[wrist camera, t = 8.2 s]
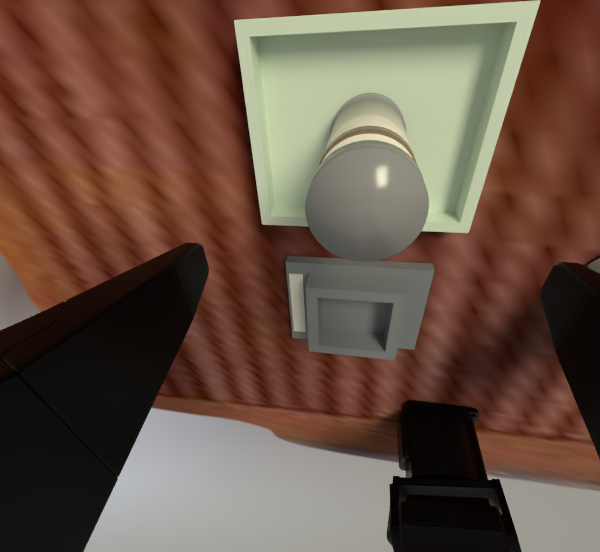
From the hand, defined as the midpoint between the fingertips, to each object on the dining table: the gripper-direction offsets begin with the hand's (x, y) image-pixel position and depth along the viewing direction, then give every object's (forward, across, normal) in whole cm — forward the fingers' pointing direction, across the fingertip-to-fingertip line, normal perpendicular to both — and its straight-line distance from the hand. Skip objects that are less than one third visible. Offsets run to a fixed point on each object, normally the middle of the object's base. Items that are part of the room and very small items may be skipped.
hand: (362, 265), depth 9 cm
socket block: (+12, 0, +12) cm, 17 cm away
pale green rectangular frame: (+12, 0, 0) cm, 12 cm away
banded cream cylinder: (+11, 0, 0) cm, 11 cm away
